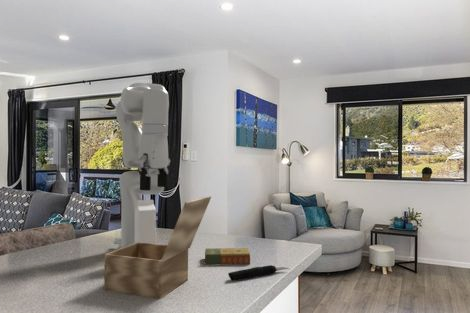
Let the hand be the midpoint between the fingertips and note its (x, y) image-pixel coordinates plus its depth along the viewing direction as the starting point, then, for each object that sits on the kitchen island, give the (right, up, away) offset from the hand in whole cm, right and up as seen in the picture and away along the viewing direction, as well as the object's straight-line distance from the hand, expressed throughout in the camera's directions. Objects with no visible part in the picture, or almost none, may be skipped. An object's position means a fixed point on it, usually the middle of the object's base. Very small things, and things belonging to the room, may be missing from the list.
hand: (154, 188), depth 111 cm
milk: (-8, -28, +22) cm, 36 cm away
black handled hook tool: (+32, -29, +7) cm, 44 cm away
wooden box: (-1, -28, -2) cm, 28 cm away
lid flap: (+11, -10, -6) cm, 16 cm away
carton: (+21, -29, +24) cm, 43 cm away
